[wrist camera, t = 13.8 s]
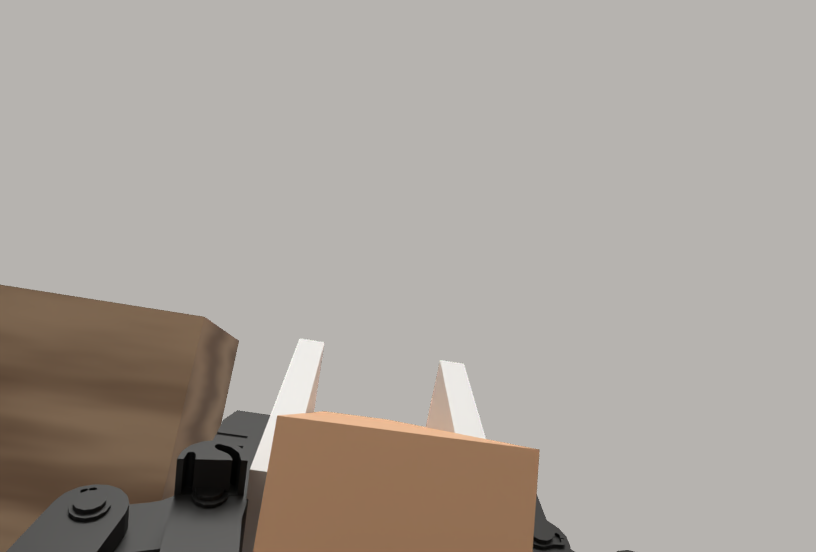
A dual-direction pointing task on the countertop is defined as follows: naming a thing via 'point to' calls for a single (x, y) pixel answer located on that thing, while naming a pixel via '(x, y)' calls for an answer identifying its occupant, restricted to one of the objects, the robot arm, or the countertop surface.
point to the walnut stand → (100, 398)
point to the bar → (393, 489)
